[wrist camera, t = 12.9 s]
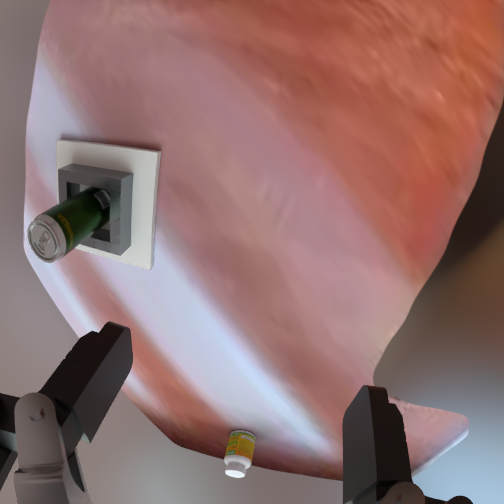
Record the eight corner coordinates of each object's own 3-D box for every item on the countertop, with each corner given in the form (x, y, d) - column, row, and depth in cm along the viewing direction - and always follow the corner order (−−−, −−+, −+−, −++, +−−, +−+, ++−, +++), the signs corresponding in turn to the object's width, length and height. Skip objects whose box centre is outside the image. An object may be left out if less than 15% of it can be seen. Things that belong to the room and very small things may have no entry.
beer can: (97, 175, 37) (35, 207, 26) (124, 205, 38) (67, 245, 28) (79, 202, 39) (21, 238, 29) (104, 230, 40) (50, 273, 30)
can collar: (71, 163, 37) (58, 169, 34) (133, 173, 36) (121, 179, 34) (73, 230, 41) (61, 238, 39) (131, 245, 41) (120, 255, 38)
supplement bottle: (238, 426, 58) (229, 466, 49) (260, 435, 58) (253, 474, 50) (226, 435, 60) (216, 472, 52) (247, 444, 61) (240, 481, 52)
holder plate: (61, 139, 36) (56, 140, 35) (161, 151, 36) (157, 152, 35) (64, 241, 44) (60, 243, 43) (153, 266, 43) (150, 270, 42)
